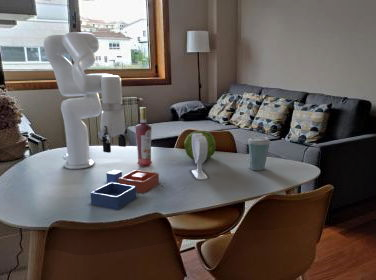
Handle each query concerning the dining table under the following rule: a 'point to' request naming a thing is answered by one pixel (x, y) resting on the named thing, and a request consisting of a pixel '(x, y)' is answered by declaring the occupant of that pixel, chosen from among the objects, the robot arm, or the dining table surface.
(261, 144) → the disposable coffee cup
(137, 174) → the rust block
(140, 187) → the rust bin
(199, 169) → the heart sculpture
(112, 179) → the blue block
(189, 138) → the lettuce
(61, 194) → the dining table surface
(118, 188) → the blue bin
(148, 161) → the liquor
